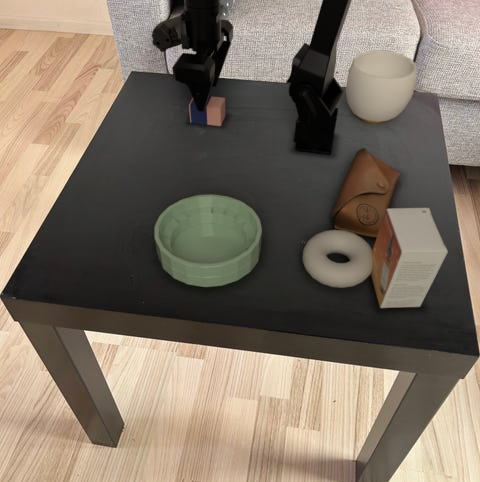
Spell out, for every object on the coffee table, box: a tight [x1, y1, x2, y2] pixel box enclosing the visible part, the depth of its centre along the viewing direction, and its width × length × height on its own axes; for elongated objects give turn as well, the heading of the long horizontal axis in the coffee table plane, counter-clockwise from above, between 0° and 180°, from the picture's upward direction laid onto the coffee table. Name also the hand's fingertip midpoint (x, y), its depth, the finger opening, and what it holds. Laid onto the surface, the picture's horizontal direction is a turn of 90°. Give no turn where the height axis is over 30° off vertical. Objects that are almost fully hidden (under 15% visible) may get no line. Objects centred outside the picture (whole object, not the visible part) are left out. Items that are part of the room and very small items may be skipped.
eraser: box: [188, 95, 226, 127], centre depth 90 cm, size 6×4×4 cm
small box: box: [370, 207, 449, 309], centre depth 61 cm, size 8×6×10 cm
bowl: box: [154, 193, 263, 288], centre depth 68 cm, size 15×15×4 cm
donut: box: [302, 229, 373, 289], centre depth 67 cm, size 10×3×10 cm
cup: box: [345, 49, 418, 124], centre depth 89 cm, size 12×12×10 cm
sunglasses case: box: [330, 147, 402, 239], centre depth 76 cm, size 18×7×7 cm
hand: (207, 98), depth 88 cm, fingers open, 9 cm apart
